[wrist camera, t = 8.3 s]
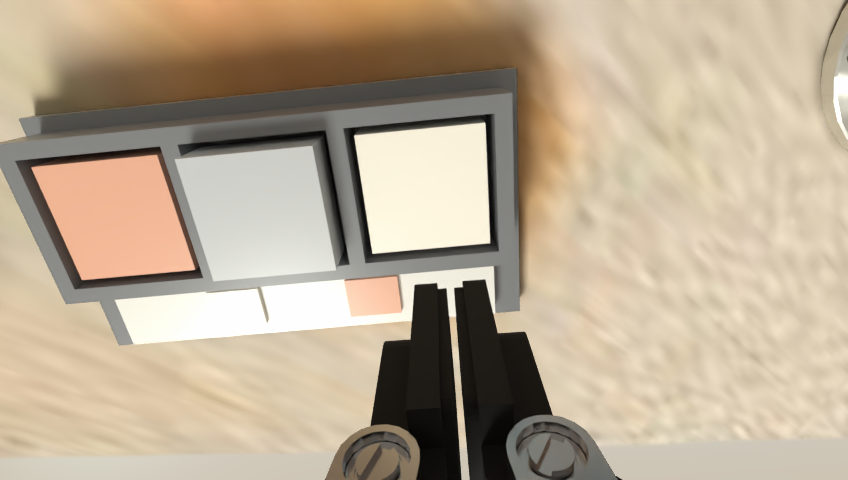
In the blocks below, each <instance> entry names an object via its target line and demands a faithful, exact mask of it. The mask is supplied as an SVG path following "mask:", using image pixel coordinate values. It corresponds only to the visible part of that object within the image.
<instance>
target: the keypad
mask: <svg viewBox="0 0 848 480" xmlns="http://www.w3.org/2000/svg"><path fill="white" fill-rule="evenodd" d="M474 115H479V116H480V117H481V118H482V119H483V120H484V122H485V125H486V151H487V176H488V201H489V226H490V243H486V244H475V245H464V246H453V247H442V248H431V249H420V250H409V251H398V252H387V253H376V254H372V247H371V241H370V234H369V228H368V222H367V215H366V209H365V202H364V196H363V189H362V183H361V177H360V170H359V164H358V157H357V151H356V144H355V138H354V135H355V134H356V132H357V131H358V129H359V128H360V127H362V126H372V125H382V124H393V123H403V122H413V121H423V120H433V119H443V118H453V117H464V116H474ZM19 121H20V123H21V125H22V127H23V130H24V132H25V134H26V137H22V138H18V139H13V140H9V141H5V142H1V143H0V168H1V170H2V172H3V174H4V176H5V178H6V180H7V182H8V184H9V186H10V189H11V191H12V193H13V195H14V197H15V199H16V201H17V203H18V205H19V207H20V209H21V212H22V214H23V216H24V218H25V220H26V222H27V224H28V226H29V228H30V230H31V232H32V234H33V237H34V239H35V241H36V243H37V245H38V247H39V249H40V251H41V253H42V255H43V257H44V259H45V262H46V264H47V266H48V268H49V270H50V272H51V274H52V276H53V278H54V280H55V282H56V285H57V287H58V289H59V291H60V293H61V295H62V297H63V299H64V301H65V303H66V304H74V303H85V302H96V301H100V303H101V306H102V308H103V310H104V312H105V315H106V317H107V319H108V321H109V324H110V326H111V328H112V331H113V333H114V335H115V337H116V340H117V342H118V344H119V345H129V344H145V343H157V342H168V341H180V340H191V339H203V338H215V337H226V336H238V335H249V334H261V333H273V332H284V331H296V330H307V329H319V328H331V327H342V326H354V325H366V324H377V323H389V322H400V321H412V313H413V298H414V285H416V284H430V283H437V285H438V289H443V288H447V298H448V310H449V317H456V308H455V296H454V288H456V287H463V286H462V281H469V280H482V279H485V280H486V284H487V289H488V293H489V298H490V302H491V306H492V311H493V313H500V312H512V311H520V295H519V210H518V126H517V68H514V67H511V68H501V69H491V70H481V71H471V72H461V73H452V74H442V75H432V76H422V77H412V78H402V79H392V80H383V81H373V82H363V83H353V84H343V85H333V86H323V87H314V88H304V89H294V90H284V91H274V92H264V93H254V94H245V95H235V96H225V97H215V98H205V99H195V100H185V101H176V102H166V103H156V104H146V105H136V106H126V107H116V108H107V109H97V110H87V111H77V112H67V113H57V114H47V115H38V116H31V117H25V118H20V119H19ZM319 135H324V140H325V145H326V151H327V156H328V162H329V167H330V173H331V178H332V184H333V189H334V195H335V200H336V206H337V211H338V217H339V222H340V228H341V233H342V239H343V244H344V251H343V254H342V256H341V259H340V262H339V265H338V267H337V270H335V271H324V272H313V273H302V274H290V275H279V276H268V277H257V278H246V279H235V280H224V281H213V278H212V275H211V272H210V269H209V266H208V263H207V259H206V256H205V253H204V250H203V247H202V244H201V241H200V237H199V234H198V231H197V228H196V225H195V222H194V219H193V216H192V212H191V209H190V206H189V203H188V200H187V197H186V194H185V191H184V187H183V184H182V181H181V178H180V175H179V172H178V169H177V166H176V162H175V159H176V158H178V157H180V156H183V155H185V154H187V153H189V152H191V151H193V150H195V149H197V148H200V147H207V146H217V145H227V144H237V143H247V142H258V141H268V140H278V139H288V138H298V137H308V136H319ZM149 147H160V148H161V151H162V154H163V157H164V160H165V163H166V166H167V169H168V172H169V175H170V178H171V181H172V184H173V187H174V190H175V193H176V196H177V199H178V202H179V205H180V209H181V212H182V215H183V218H184V221H185V224H186V227H187V230H188V233H189V236H190V239H191V242H192V245H193V248H194V251H195V254H196V257H197V260H198V263H199V267H198V268H197V269H196V270H189V271H178V272H167V273H156V274H145V275H134V276H123V277H112V278H100V279H89V280H82V279H81V277H80V275H79V272H78V270H77V268H76V266H75V264H74V261H73V259H72V257H71V255H70V253H69V250H68V248H67V246H66V244H65V241H64V239H63V237H62V235H61V233H60V230H59V228H58V226H57V224H56V222H55V219H54V217H53V215H52V213H51V210H50V208H49V206H48V204H47V202H46V199H45V197H44V195H43V193H42V190H41V188H40V186H39V184H38V182H37V179H36V177H35V175H34V173H33V171H32V168H31V167H33V166H37V165H40V164H43V163H46V162H49V161H52V160H56V159H59V158H62V157H65V156H68V155H78V154H89V153H99V152H109V151H119V150H129V149H139V148H149Z"/></svg>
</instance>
